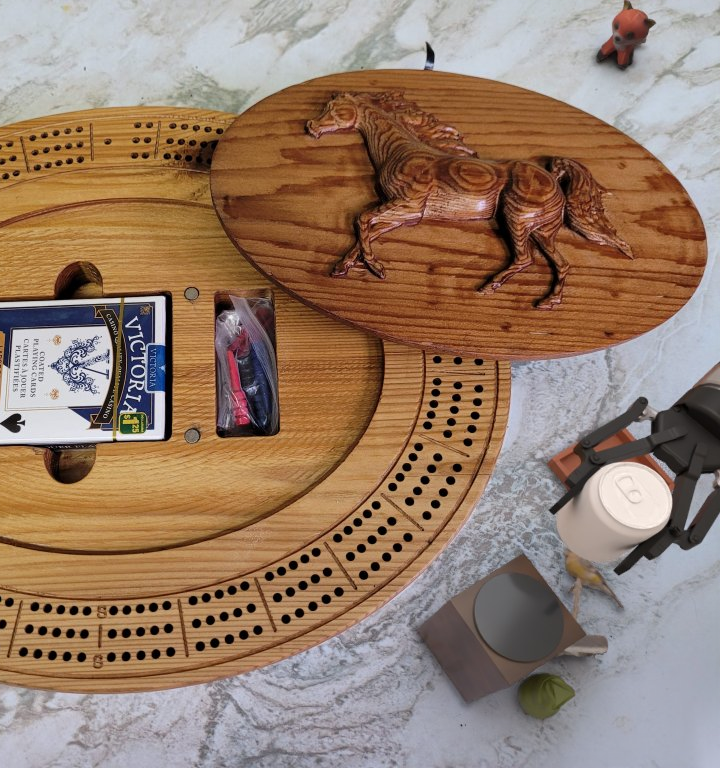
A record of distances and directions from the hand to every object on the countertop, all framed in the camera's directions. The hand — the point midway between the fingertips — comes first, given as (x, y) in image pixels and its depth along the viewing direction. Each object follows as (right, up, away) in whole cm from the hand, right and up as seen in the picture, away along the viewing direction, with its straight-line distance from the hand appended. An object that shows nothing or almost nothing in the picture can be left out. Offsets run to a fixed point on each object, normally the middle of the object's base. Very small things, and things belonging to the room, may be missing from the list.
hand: (587, 538), depth 86 cm
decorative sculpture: (+11, -16, +28) cm, 34 cm away
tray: (+20, +2, +36) cm, 41 cm away
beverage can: (+4, 0, +8) cm, 9 cm away
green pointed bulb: (+3, -26, +23) cm, 35 cm away
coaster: (-4, -11, +8) cm, 14 cm away
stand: (-4, -19, +26) cm, 33 cm away
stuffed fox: (+40, +80, +73) cm, 116 cm away
